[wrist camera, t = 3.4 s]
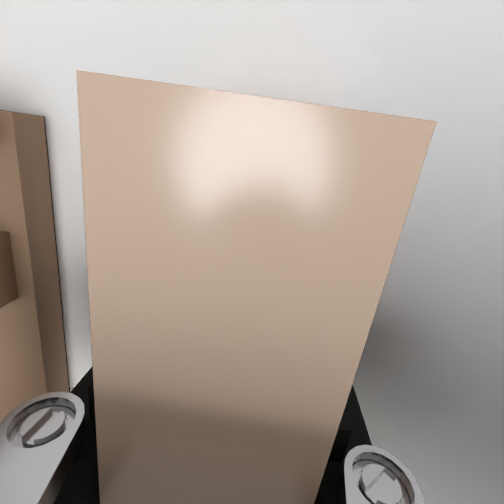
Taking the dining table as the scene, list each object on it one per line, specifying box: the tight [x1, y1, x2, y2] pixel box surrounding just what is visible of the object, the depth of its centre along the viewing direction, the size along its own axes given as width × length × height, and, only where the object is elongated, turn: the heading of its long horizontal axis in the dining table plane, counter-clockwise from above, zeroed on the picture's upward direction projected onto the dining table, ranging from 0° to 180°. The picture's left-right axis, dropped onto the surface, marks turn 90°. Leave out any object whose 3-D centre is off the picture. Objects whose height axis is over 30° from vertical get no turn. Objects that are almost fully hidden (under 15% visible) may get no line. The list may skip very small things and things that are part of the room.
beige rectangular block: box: [76, 70, 436, 504], centre depth 7 cm, size 4×13×5 cm, turn 172°
